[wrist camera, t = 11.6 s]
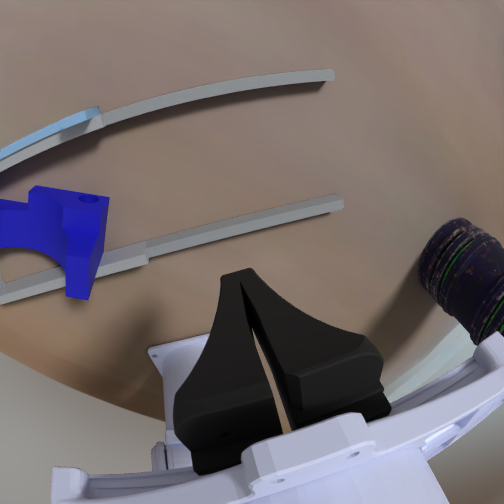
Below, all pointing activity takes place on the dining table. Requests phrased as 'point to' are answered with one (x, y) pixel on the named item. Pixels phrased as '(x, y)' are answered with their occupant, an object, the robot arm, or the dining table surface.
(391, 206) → the dining table surface
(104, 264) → the grey u-shaped frame
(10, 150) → the light blue long bar
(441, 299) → the storage jar
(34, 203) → the blue arched bracket
